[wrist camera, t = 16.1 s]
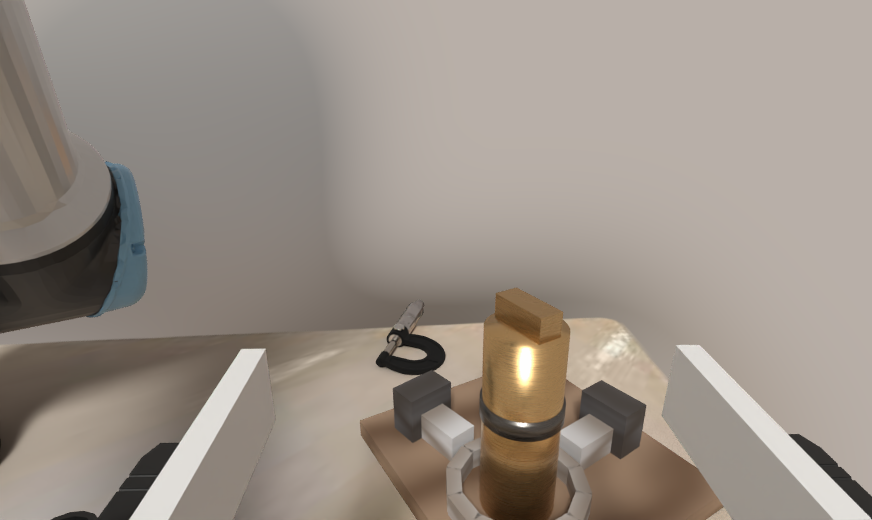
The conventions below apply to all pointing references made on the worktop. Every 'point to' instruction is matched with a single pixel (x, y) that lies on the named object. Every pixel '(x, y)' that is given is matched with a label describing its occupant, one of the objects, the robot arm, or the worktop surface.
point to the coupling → (522, 406)
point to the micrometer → (403, 336)
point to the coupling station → (577, 463)
